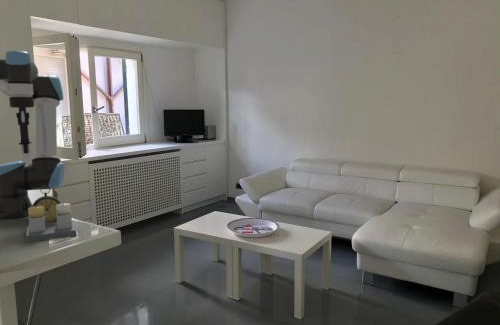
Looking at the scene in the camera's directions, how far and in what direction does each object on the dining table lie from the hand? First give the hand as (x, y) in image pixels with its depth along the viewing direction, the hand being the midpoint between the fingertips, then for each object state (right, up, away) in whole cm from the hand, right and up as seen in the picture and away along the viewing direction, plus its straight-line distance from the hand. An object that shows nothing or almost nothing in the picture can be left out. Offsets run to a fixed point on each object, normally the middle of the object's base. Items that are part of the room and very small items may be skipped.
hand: (26, 161), depth 144 cm
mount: (+7, -27, +4) cm, 28 cm away
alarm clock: (+1, -26, +14) cm, 29 cm away
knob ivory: (+11, -24, +6) cm, 27 cm away
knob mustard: (+3, -25, +1) cm, 25 cm away
